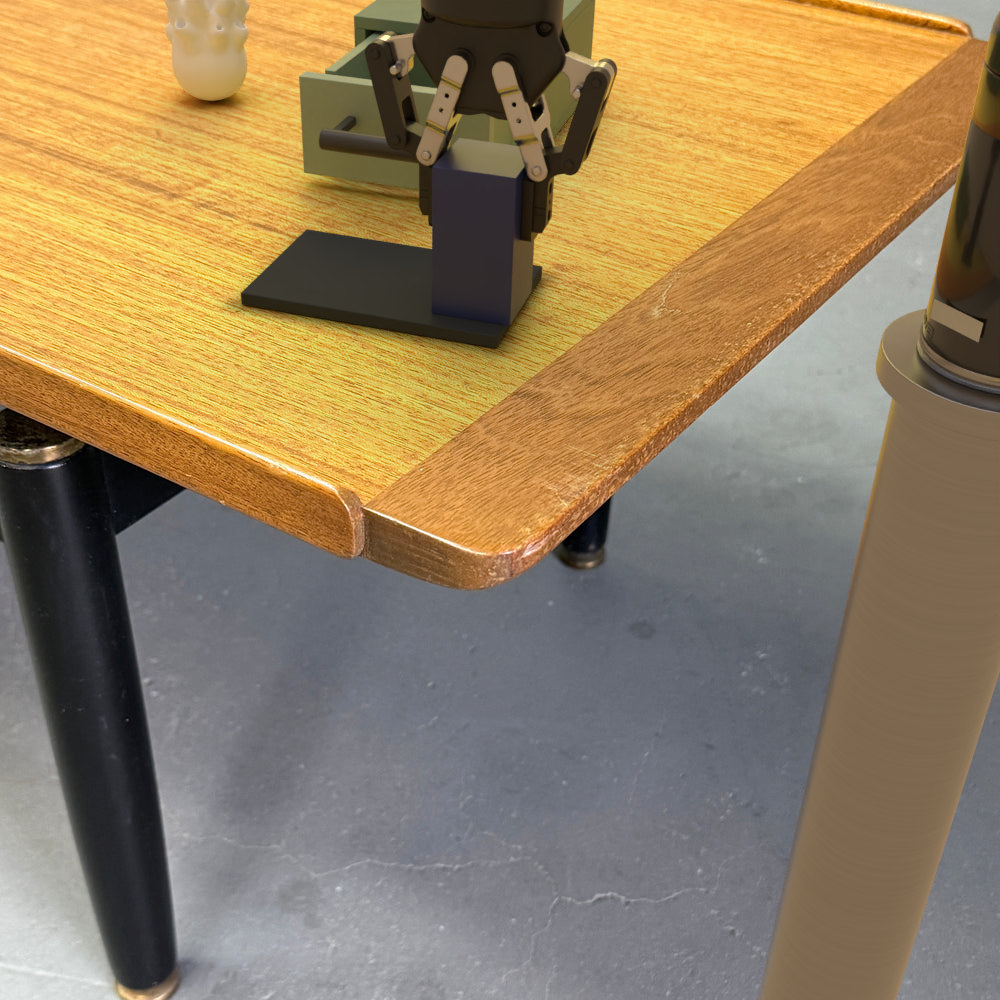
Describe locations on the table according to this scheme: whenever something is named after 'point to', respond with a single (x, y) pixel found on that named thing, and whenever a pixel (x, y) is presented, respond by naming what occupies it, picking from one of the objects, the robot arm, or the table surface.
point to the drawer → (370, 123)
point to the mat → (364, 287)
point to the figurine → (208, 46)
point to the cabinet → (403, 14)
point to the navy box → (479, 233)
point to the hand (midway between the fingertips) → (485, 228)
